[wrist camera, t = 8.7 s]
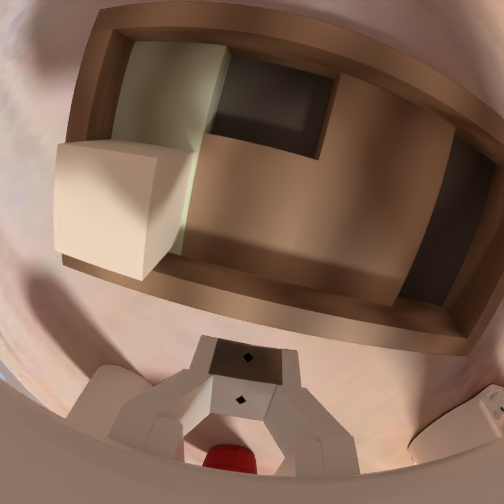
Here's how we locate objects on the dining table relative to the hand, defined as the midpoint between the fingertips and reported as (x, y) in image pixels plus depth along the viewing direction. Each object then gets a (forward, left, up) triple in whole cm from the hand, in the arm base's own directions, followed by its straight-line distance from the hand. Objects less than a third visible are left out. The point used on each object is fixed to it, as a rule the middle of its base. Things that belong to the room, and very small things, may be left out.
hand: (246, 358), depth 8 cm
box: (-3, -5, -10) cm, 11 cm away
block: (+7, -3, -8) cm, 11 cm away
